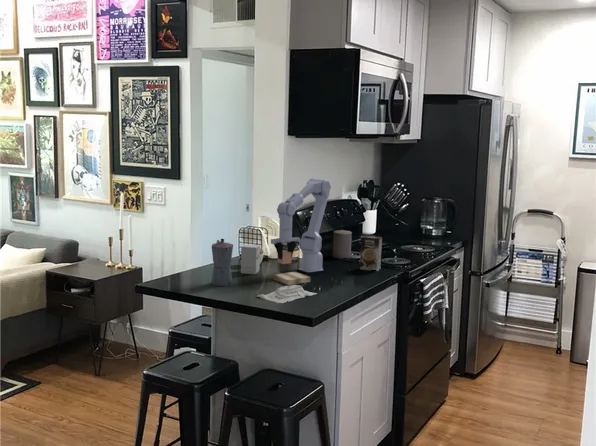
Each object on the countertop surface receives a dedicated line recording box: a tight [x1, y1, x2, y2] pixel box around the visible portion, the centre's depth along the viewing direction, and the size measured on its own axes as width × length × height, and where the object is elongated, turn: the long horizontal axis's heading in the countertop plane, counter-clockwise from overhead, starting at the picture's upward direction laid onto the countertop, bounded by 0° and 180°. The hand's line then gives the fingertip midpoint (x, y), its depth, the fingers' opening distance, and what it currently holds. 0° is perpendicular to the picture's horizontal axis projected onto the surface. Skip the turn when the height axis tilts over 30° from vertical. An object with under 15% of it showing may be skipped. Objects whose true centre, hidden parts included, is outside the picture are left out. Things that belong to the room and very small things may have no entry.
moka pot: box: [210, 238, 234, 287], centre depth 267 cm, size 10×15×20 cm, turn 27°
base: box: [272, 271, 311, 286], centre depth 277 cm, size 12×12×2 cm
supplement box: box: [240, 244, 261, 275], centre depth 290 cm, size 7×7×13 cm
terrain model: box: [256, 284, 318, 304], centre depth 251 cm, size 17×23×5 cm
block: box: [277, 250, 292, 265], centre depth 283 cm, size 4×4×5 cm
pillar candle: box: [332, 228, 353, 260], centre depth 331 cm, size 10×10×15 cm
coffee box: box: [359, 235, 383, 272], centre depth 303 cm, size 9×6×16 cm
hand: (285, 258), depth 283 cm, fingers closed on block, 4 cm apart
